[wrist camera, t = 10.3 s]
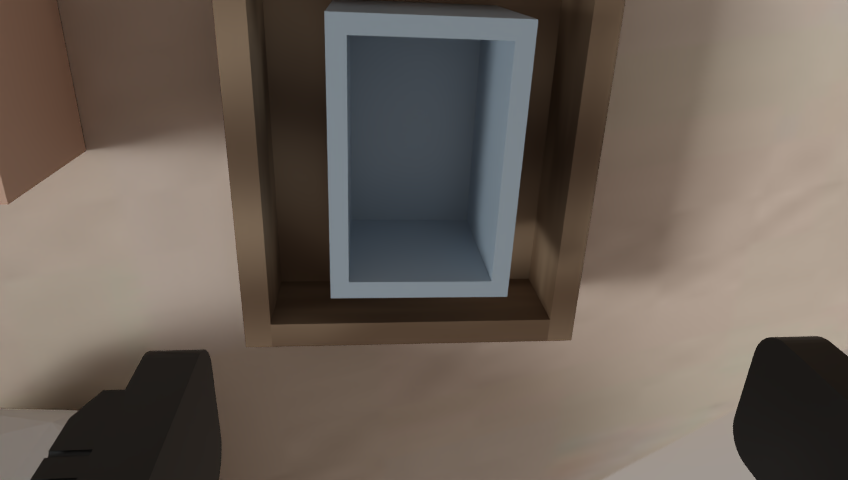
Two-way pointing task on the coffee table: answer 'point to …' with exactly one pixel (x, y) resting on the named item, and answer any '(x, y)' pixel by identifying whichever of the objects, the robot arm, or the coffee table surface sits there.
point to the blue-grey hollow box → (424, 146)
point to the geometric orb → (27, 439)
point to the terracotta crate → (34, 97)
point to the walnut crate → (308, 180)
